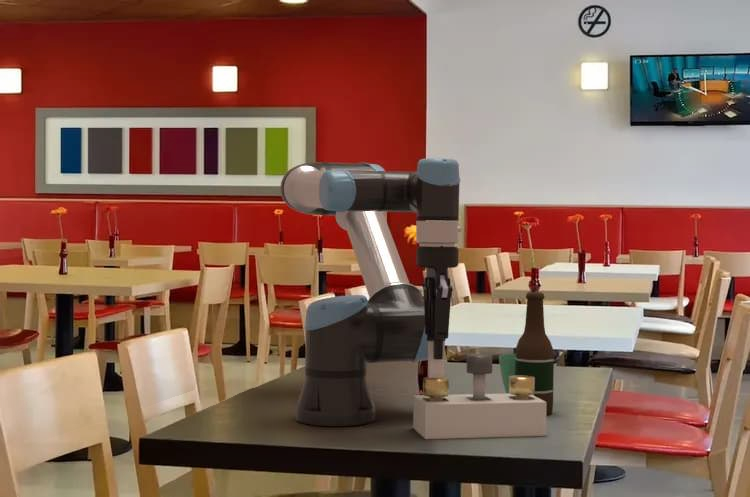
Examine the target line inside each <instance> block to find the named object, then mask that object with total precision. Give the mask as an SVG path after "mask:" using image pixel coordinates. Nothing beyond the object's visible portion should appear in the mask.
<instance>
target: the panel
mask: <svg viewBox="0 0 750 497" xmlns="http://www.w3.org/2000/svg"><path fill="white" fill-rule="evenodd" d="M546 403H547V402H545V401H543V400H541V399H539V398H537V397H535V396H533V395H528V400H516V395H512V394H506V393H485V400H484V401H475V400H473V393H471V394H470V393H468V394H467V393H465V394H461V393H460V394H449V396H447V397H442V402H430V397H426V396H423V394H422V395H420V394H419V395H418V394H417V395H413V411H412V412H413V417H412V420H413V422H412V424H413V425H412V428H413V429H414V430H415V431H416V432H417V433H418V434H419V436H422V438H424V439H425V440H437V439H438V440H441V439H446V440H447V439H474V438H475V439H477V438H478V439H479V438H513V437H514V438H515V437H546V436H547V415H546Z"/></svg>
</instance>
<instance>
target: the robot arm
mask: <svg viewBox="0 0 750 497" xmlns="http://www.w3.org/2000/svg"><path fill="white" fill-rule="evenodd" d="M280 182H281V183H280V187H279V188H280V190H279V191H280V195H281V198H282V200H283V201H284V203H285V204H286V206H288V207H289V208H290V209H292V210H293V211H295V212H298V213H301V214H305V215H312V216H334V217H335V220H336V223H337V224H338V226H339V227H340V228H341V229H343V230H344V231H347V235H348V238H349V240H350V243H351V246H352V250H353V253H354V255H355V258H356V261H357V264H358V267H359V271H360V273H361V277H362V280H363V283H364V286H365V289H366V292H367V294H368V298H367V296H366V295H362V294H351V295H339V296H331V297H326V298H321V299H317V300H315V301H312V302H311V303H309V305H308V306H307V308H306V313H305V325H304V331H305V362H304V364H305V373H304V374H305V375H304V377H305V378H304V382H303V386H302V388H301V391H300V394H299V397H298V400H297V404H296V406H295V420H296V421H297V422H299V423H302V424H306V425H312V426H322V427H349V426H350V427H351V426H361V425H366V424H370V423H372V422H374V421H375V420H376V406H375V404H374V400H373V397H372V393H371V389H370V386H369V383H368V380H367V364H377V363H381V364H382V363H401V362H402V363H403V362H405V363H406V362H411V363H416V362H421V361H422V362H423V361H427V377H429V378H439V377H445V368H446V367H445V365H446V364H445V363H446V362H445V360H446V359H445V358H446V356H445V353H446V352H445V350H446V348H445V346H446V343H445V342H446V339H449V330H450V328H449V327H450V316H451V304H452V303H451V301H452V294H453V291H454V290H453V286H452V285H451V278H449V273H448V272H449V271H448V268H451V269H453V268H457V267H458V266H459V252H460V251H459V249H460V248H458V246H456V245H457V244H458V243H459V233H460V232H462V227H461V226H459V219H460V218H459V216H460V215H459V214H460V211H459V210H460V183H461V178H460V165H459V162H458V160H456V159H454V158H444V157H443V158H442V157H441V158H440V157H439V158H438V157H437V158H436V157H435V158H431V157H430V158H429V157H428V158H422V159H419V161H418V162H417V168H416V171H403V170H402V171H398V170H397V171H396V170H395V171H394V170H393V171H392V170H390V171H388V170H387V171H385V168H383V167H382V166H381V165H379V164H376V163H375V164H374V163H367V162H358V163H354V162H353V163H352V162H351V163H350V162H321V161H312V162H304V163H301V164H298V165H295V166H294V167H291V168H290V169H288V170H287V172H285V174H284V176H283V177H282V180H281V181H280ZM389 212H390V213H393V212H394V213H395V212H396V213H401V212H402V213H409V214H410V213H413V214H416V227H415V228H416V236H415V237H416V239H415V242H416V243H417V244H419V246H417V248H416V249H415V250H416V253H415V255H416V258H415V259H416V261H415V264H416V266H417V267H418V268H426V277H424V278H423V282H422V284H421V286H422V292H423V294H422V292H421V290H420V288H418V287H417V286H416V285H414V284H411V283H410V280H409V278H408V276H407V273H406V270H405V268H404V265H403V263H402V259H401V257H400V254H399V252H398V249H397V246H396V244H395V240H394V239H393V235H392V233H391V230H390V228H389V225H388V222H387V219H386V216H387V213H389Z"/></svg>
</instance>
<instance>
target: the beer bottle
mask: <svg viewBox="0 0 750 497" xmlns="http://www.w3.org/2000/svg"><path fill="white" fill-rule="evenodd" d="M545 298H546V297H545V294H544V293H543V292H540V291H539V292H538V291H528V292H526V294H525V299H526V311H525V325H524V331H523V333H522V335H521V336H520V338H519V339H518V341H517V344H516V347H515V353H514V354H515V375H527V376H533V377H535V390H534V395H533V396H535V397H537V398H539V399H541V400H543V401H545V402H547V403H546V416H550V414H551V415H552V414H553V412H554V410H553V408H554V371H555V370H554V368H555V366H554V365H555V364H554V363H555V360H554V348H553V346H552V345H553V344H552V342H551V340H550V339H549V337H548V336H547V334H546V329H545V315H544V313H545V311H544V299H545Z"/></svg>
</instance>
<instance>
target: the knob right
mask: <svg viewBox="0 0 750 497" xmlns="http://www.w3.org/2000/svg"><path fill="white" fill-rule="evenodd" d="M534 390H535V377H533V376H527V375H513V376H509V394H512V395H516V400H528V395H534Z"/></svg>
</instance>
